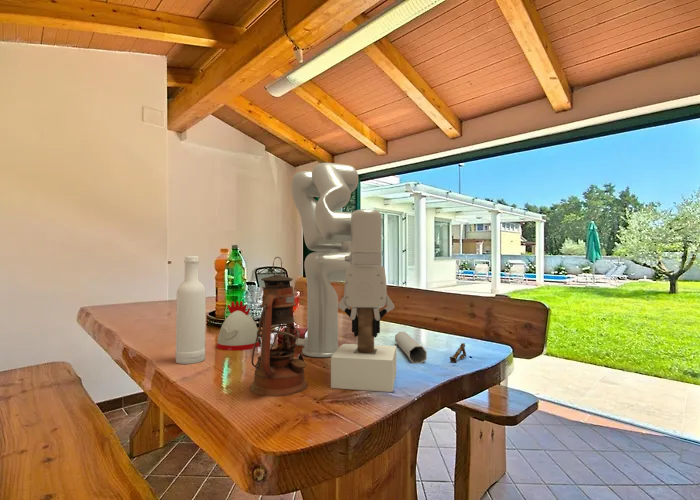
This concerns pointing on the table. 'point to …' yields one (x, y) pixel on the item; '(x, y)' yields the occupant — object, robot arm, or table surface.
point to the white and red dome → (238, 330)
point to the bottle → (190, 316)
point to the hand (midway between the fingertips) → (365, 335)
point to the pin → (365, 330)
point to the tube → (411, 347)
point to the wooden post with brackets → (454, 357)
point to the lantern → (278, 364)
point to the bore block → (364, 368)
